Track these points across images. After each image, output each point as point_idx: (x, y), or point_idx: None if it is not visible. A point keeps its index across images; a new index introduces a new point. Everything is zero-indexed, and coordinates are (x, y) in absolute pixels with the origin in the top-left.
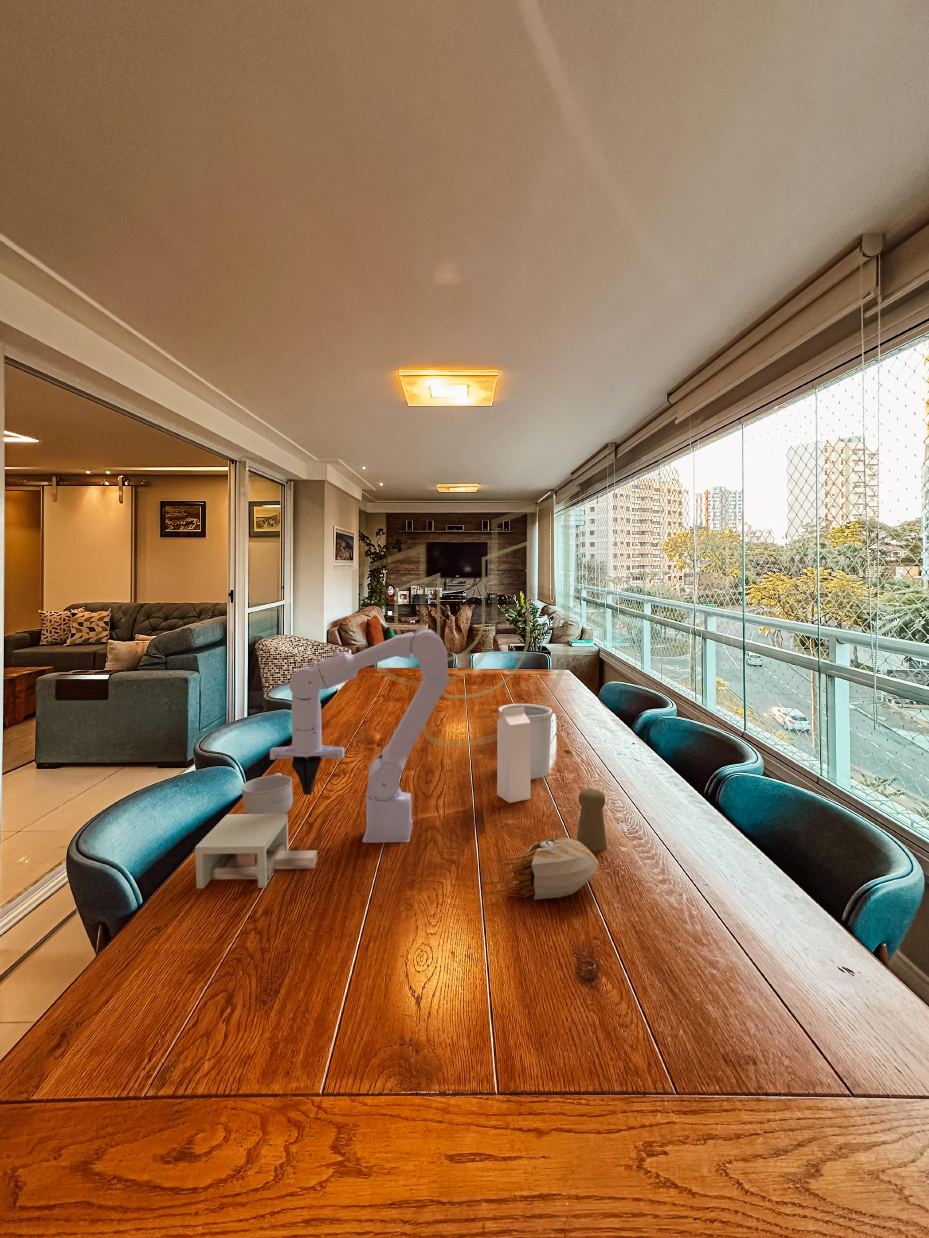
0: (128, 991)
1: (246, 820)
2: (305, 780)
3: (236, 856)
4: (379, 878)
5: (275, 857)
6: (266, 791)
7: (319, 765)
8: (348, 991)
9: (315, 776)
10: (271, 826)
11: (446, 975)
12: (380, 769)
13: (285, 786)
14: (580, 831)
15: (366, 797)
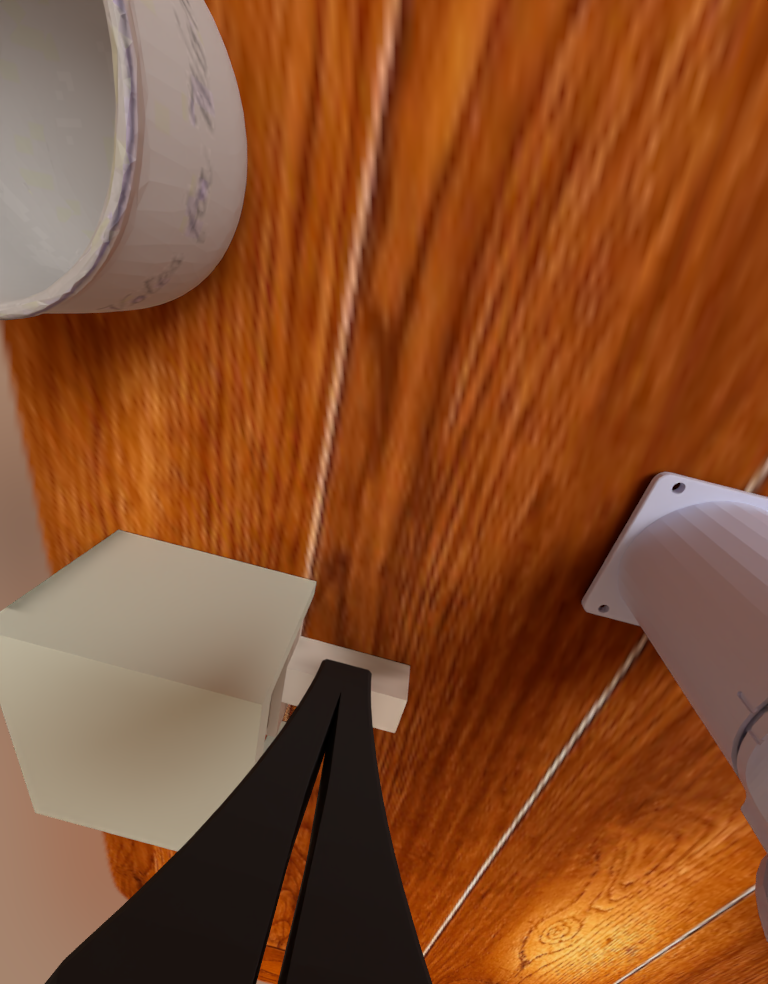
0: (167, 856)
1: (101, 708)
2: (295, 838)
3: None
4: (566, 771)
5: (282, 696)
6: (2, 314)
7: (416, 948)
8: (441, 933)
9: (378, 788)
10: (224, 780)
11: (577, 956)
12: None
13: (114, 228)
14: None
15: (728, 734)
